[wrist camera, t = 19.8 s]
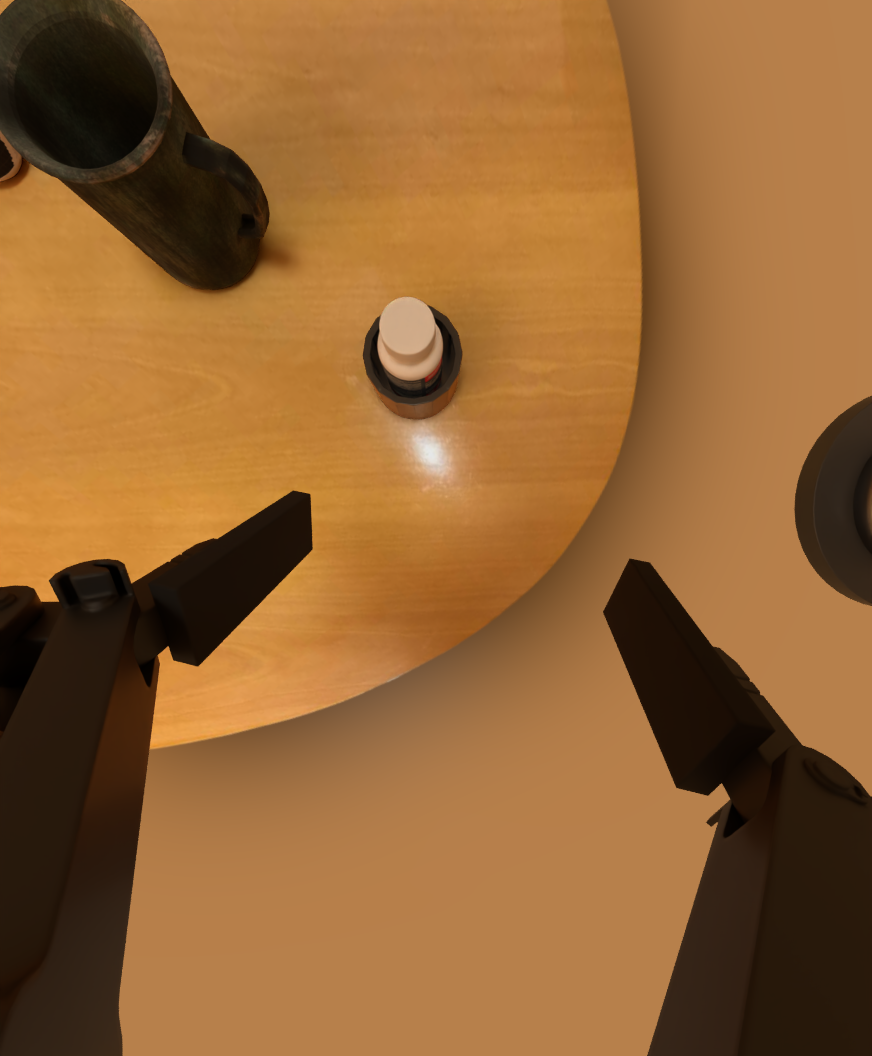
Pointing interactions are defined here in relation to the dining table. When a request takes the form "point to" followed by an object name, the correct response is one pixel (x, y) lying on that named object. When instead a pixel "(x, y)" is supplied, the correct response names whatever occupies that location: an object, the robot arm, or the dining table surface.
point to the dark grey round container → (424, 404)
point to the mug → (126, 137)
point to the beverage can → (8, 159)
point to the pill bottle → (410, 348)
